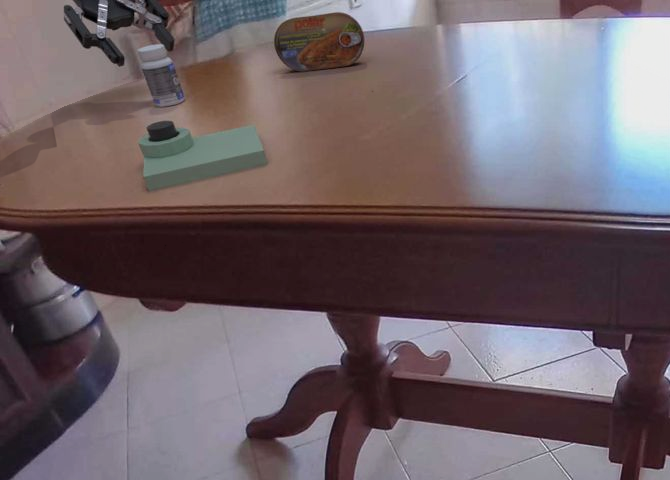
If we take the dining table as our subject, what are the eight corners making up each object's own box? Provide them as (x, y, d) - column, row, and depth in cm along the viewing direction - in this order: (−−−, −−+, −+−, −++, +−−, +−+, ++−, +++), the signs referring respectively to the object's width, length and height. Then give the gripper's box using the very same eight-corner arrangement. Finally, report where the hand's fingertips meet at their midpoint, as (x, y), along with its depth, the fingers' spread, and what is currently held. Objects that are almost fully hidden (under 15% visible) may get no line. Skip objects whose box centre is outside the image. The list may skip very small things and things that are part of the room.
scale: (148, 192, 82) (136, 163, 80) (149, 160, 91) (138, 134, 89) (268, 164, 85) (260, 136, 83) (257, 137, 94) (250, 111, 92)
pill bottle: (188, 102, 112) (168, 46, 107) (157, 109, 110) (136, 53, 105) (182, 95, 115) (163, 41, 110) (153, 102, 113) (132, 47, 108)
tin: (281, 74, 120) (267, 21, 115) (284, 69, 122) (271, 17, 117) (368, 64, 119) (358, 11, 114) (370, 59, 122) (360, 7, 117)
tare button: (151, 145, 86) (146, 131, 85) (151, 137, 88) (146, 124, 87) (178, 139, 87) (173, 125, 86) (177, 132, 89) (172, 118, 88)
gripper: (122, -20, 116) (184, 59, 116) (36, -1, 107) (103, 84, 108) (125, -56, 110) (190, 26, 110) (34, -39, 101) (105, 50, 102)
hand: (147, 55), depth 109 cm, fingers open, 8 cm apart
